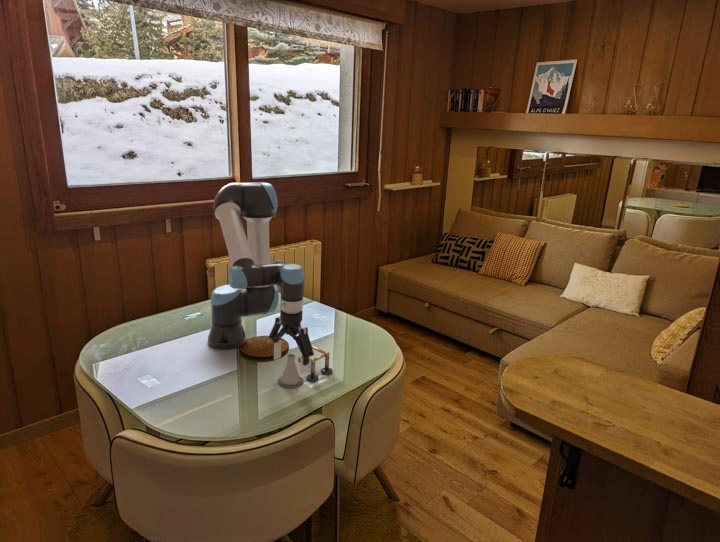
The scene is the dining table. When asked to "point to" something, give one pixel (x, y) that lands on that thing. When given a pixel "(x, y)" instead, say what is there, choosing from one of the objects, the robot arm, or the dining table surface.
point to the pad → (290, 385)
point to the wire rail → (312, 376)
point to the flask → (290, 371)
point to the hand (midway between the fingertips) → (290, 365)
